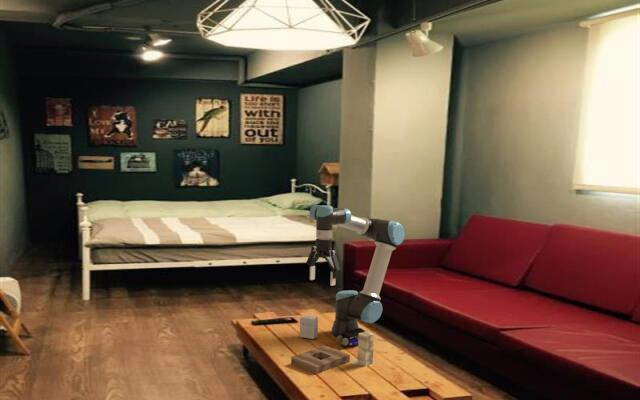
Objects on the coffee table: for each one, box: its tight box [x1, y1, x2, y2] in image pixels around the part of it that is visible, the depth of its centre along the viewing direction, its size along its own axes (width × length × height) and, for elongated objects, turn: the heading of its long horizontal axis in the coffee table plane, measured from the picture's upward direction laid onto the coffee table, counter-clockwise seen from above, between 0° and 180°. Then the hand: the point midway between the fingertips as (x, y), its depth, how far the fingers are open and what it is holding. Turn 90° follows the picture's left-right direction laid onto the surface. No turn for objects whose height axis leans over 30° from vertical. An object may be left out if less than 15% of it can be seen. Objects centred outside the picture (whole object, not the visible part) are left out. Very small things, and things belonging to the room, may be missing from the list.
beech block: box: [357, 330, 375, 367], centre depth 265 cm, size 5×5×14 cm
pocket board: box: [290, 345, 351, 375], centre depth 265 cm, size 22×16×4 cm
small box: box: [299, 314, 319, 340], centre depth 301 cm, size 8×6×10 cm
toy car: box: [335, 327, 368, 349], centre depth 290 cm, size 7×8×15 cm
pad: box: [350, 359, 378, 366], centre depth 266 cm, size 10×10×1 cm
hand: (322, 282), depth 275 cm, fingers open, 13 cm apart
